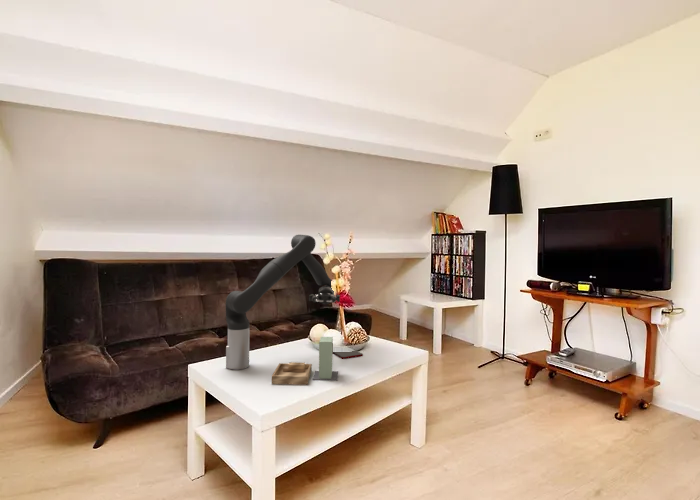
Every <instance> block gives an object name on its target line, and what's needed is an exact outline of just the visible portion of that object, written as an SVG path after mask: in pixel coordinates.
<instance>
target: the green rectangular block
mask: <svg viewBox="0 0 700 500" xmlns="http://www.w3.org/2000/svg"><path fill="white" fill-rule="evenodd" d="M333 341H334V338H333V336H320V338H319V344H318V371H319V378H325V379H331V377H332V371H333V356H334V354H333Z"/></svg>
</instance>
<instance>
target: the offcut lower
mask: <svg viewBox="0 0 700 500" xmlns="http://www.w3.org/2000/svg"><path fill="white" fill-rule="evenodd" d="M305 369H306V366H305V367H304V369H288V366H284V368H283V372H305Z"/></svg>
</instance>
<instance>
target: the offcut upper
mask: <svg viewBox="0 0 700 500" xmlns="http://www.w3.org/2000/svg"><path fill="white" fill-rule="evenodd" d="M288 364H289V365H288V369H304V367H305V364H306V362H298V361H297V362H292V361H291V362H289V363H288Z"/></svg>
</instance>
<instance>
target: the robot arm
mask: <svg viewBox="0 0 700 500" xmlns="http://www.w3.org/2000/svg"><path fill="white" fill-rule="evenodd" d="M316 243H317V242H316V240H315V238H314V237H313V236H311V235H307V234H295V235H294V236H293V237H292V238H291V241H290V244H291V250H289V251H287V252H285V253H283V254H281V255H279V256H276V257H275V258H274V259H272V260H270V261H269V262H268V263H267V264H266V265H265V266H264V267H263V268H262V269H261V270H260V271H259V272H258V275H257V277H256V278H255V280H254V282H253V283H251V285H249V286H248V287H247V288H245V289H244V290H243V291H240V290H233V291H231V292H230V293H229V294H228V295H227V296H226V299H225V318H226V319H225V320H226V325H227V345H226V347H225V369H230V370H237V371H238V370H243V369H247V368H249V366H250V320H249V319H248V317H247V314H246V313H248V312H249V311H250V310H251V309H252V308H253V307H254V306H255V304H256V303H257V302H258V301H259V300H261V298H262V297H263V295H265V294H266V293H267V292H268V291H269V290H270V289H271V288H272V287H274V285H276V284H277V283H278V282H279V281H280V280H281V279H282V278H283V277H284V276H285V275H286V274H287V273H288V272H289V271H290V270H292V269H293V268H294V266H296V265H298V263H299V262H301V261H302V262H303V264H304V265H305V266H306V268H307V269H308V271H309V272H310V274H311V275H312V277H313V279H314V281H315V283H316V284H317V285H318V286H321V287H319V289H318V293H316V294H314V293H311V294H309V295H308V301H309V302H312V303H316V302H317V303H318V302H319V303H321V304H322V305H329V304H330V303H337V302H338V303H339V302H341V298H340V297H341V295H340V294H336V295H334V291H333V290H332V288H331V281H333V280H332V279H331V278H330V276H329V275H328V273H327V272H326V270H325V268H324V267H323V265H322V264H321V263H320V262H319V260H317V259H316V257H315V256H314V255H313V254H312V252H313V251H314V250H315V248H316V246H317V244H316Z"/></svg>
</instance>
